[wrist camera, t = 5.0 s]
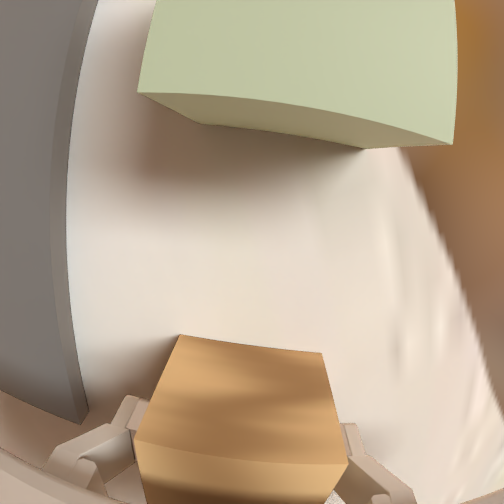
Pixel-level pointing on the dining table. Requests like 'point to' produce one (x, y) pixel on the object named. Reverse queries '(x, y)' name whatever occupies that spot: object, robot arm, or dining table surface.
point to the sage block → (309, 67)
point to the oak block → (240, 427)
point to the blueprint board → (38, 200)
